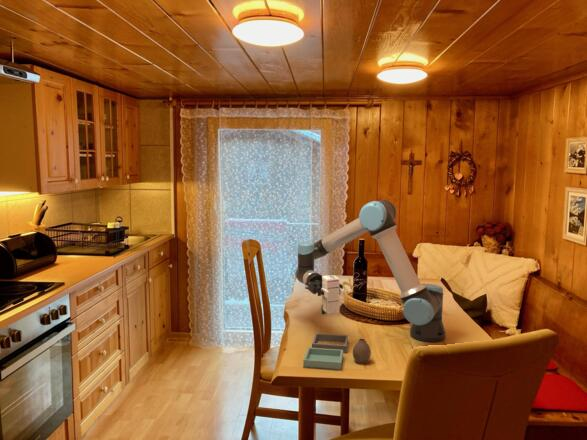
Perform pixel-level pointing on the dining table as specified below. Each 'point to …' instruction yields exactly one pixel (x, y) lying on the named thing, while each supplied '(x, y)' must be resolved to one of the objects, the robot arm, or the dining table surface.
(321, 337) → the bin
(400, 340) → the dining table surface
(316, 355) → the bin
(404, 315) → the robot arm
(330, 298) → the syrup box
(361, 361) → the vase
